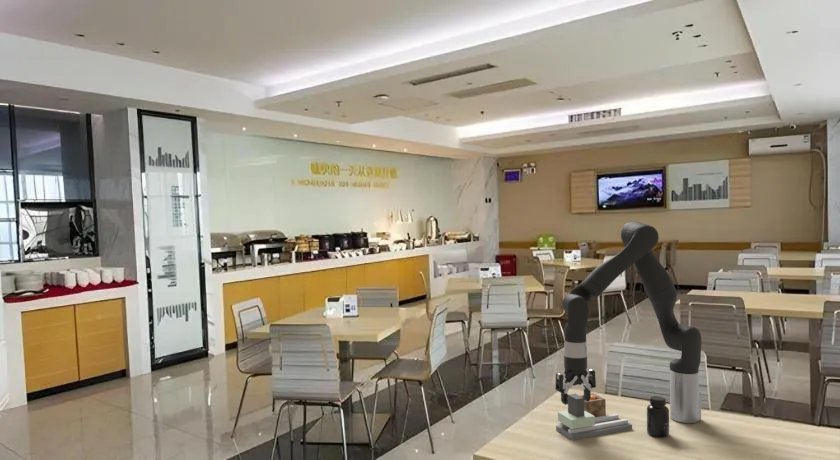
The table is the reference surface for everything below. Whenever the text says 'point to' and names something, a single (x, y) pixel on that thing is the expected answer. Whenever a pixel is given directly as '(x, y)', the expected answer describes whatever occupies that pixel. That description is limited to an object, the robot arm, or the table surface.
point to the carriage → (576, 413)
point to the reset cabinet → (595, 406)
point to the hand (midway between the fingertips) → (575, 402)
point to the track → (596, 427)
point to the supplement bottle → (657, 417)
